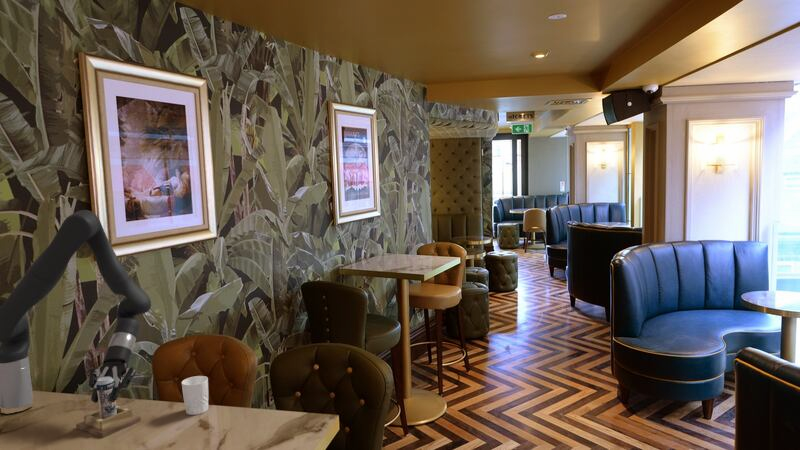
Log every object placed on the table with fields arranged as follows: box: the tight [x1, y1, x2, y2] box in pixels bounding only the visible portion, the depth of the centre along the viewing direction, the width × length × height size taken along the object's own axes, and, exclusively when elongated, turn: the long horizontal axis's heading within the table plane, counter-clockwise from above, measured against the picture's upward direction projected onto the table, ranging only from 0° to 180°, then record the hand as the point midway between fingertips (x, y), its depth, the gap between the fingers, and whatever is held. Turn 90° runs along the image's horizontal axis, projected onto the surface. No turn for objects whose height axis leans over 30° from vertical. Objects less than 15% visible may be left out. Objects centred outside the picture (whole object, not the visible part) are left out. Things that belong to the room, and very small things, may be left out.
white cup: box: [181, 375, 209, 416], centre depth 175 cm, size 8×8×10 cm
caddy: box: [75, 404, 142, 438], centre depth 168 cm, size 14×12×4 cm
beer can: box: [96, 376, 117, 419], centre depth 168 cm, size 5×5×12 cm
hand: (103, 401), depth 166 cm, fingers closed on beer can, 4 cm apart
